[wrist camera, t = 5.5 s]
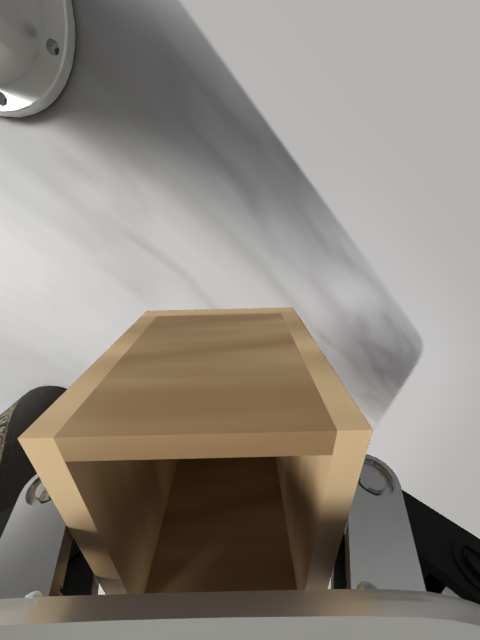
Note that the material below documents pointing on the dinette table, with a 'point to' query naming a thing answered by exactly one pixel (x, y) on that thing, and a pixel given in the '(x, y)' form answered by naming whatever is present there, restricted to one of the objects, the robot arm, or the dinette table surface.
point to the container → (5, 449)
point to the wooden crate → (205, 455)
